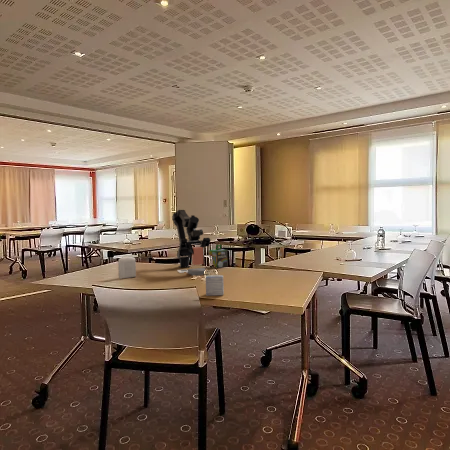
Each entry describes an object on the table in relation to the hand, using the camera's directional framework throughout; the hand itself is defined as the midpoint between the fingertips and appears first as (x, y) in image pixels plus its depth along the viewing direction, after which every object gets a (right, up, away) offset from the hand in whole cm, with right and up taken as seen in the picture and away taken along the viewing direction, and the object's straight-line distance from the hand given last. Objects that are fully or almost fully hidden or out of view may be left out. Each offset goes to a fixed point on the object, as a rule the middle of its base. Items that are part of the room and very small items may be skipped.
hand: (198, 253), depth 231 cm
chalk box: (+12, -11, +28) cm, 32 cm away
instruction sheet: (-7, -12, +13) cm, 19 cm away
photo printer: (-41, -14, -5) cm, 44 cm away
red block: (0, -7, +2) cm, 7 cm away
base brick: (0, -13, +2) cm, 13 cm away
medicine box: (+12, -15, -55) cm, 58 cm away
